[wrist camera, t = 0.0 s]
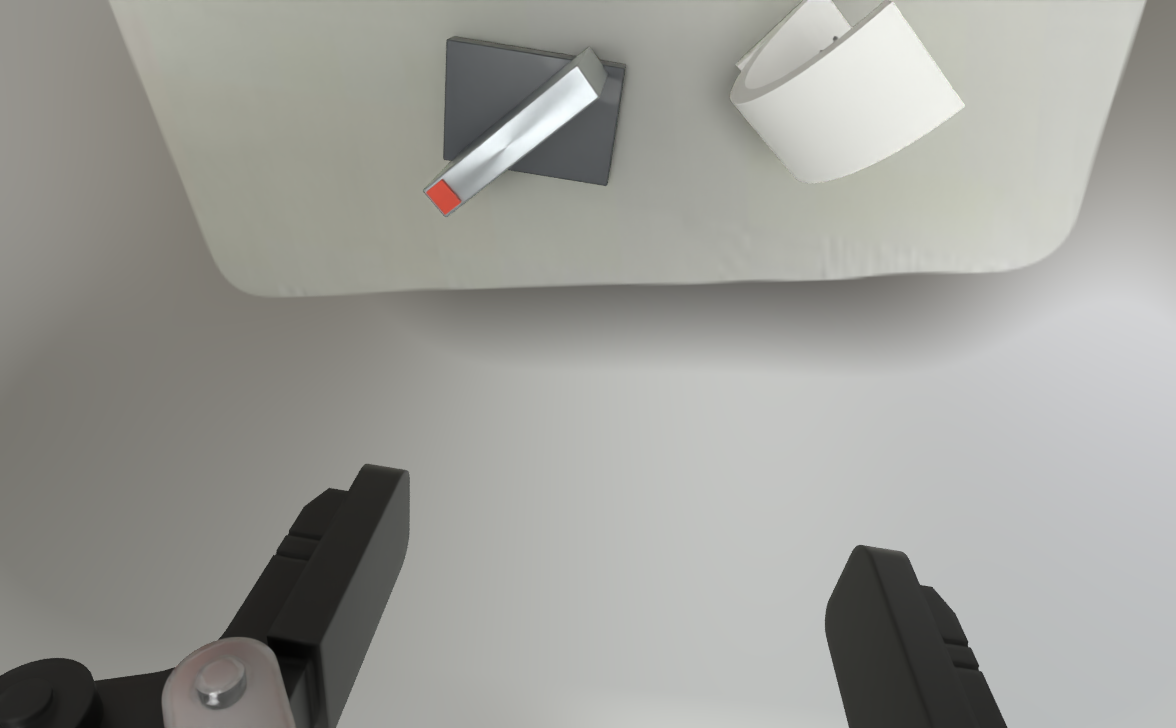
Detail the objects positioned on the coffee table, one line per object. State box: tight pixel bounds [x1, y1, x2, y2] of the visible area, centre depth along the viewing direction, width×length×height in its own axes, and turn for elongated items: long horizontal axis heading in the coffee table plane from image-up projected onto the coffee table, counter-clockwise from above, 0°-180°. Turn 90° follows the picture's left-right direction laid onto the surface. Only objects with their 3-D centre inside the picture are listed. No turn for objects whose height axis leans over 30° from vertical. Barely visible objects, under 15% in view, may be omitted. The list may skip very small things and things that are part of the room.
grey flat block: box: [423, 47, 608, 217], centre depth 33 cm, size 9×2×7 cm, turn 127°
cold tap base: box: [443, 37, 626, 186], centre depth 36 cm, size 6×9×2 cm, turn 82°
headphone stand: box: [730, 0, 965, 183], centre depth 30 cm, size 5×6×12 cm
